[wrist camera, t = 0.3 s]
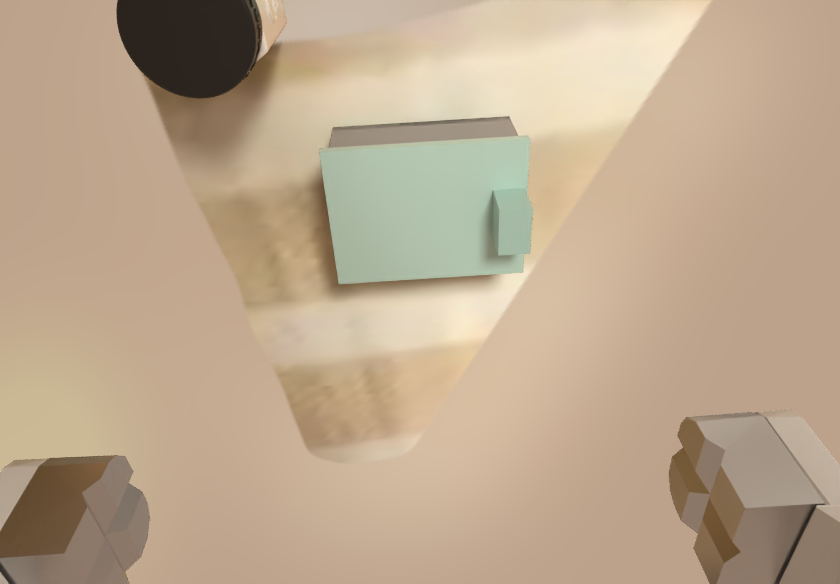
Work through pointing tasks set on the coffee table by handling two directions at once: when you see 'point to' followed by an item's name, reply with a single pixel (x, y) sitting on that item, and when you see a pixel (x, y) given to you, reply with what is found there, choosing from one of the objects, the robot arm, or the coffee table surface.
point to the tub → (422, 132)
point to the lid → (428, 208)
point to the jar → (198, 41)
